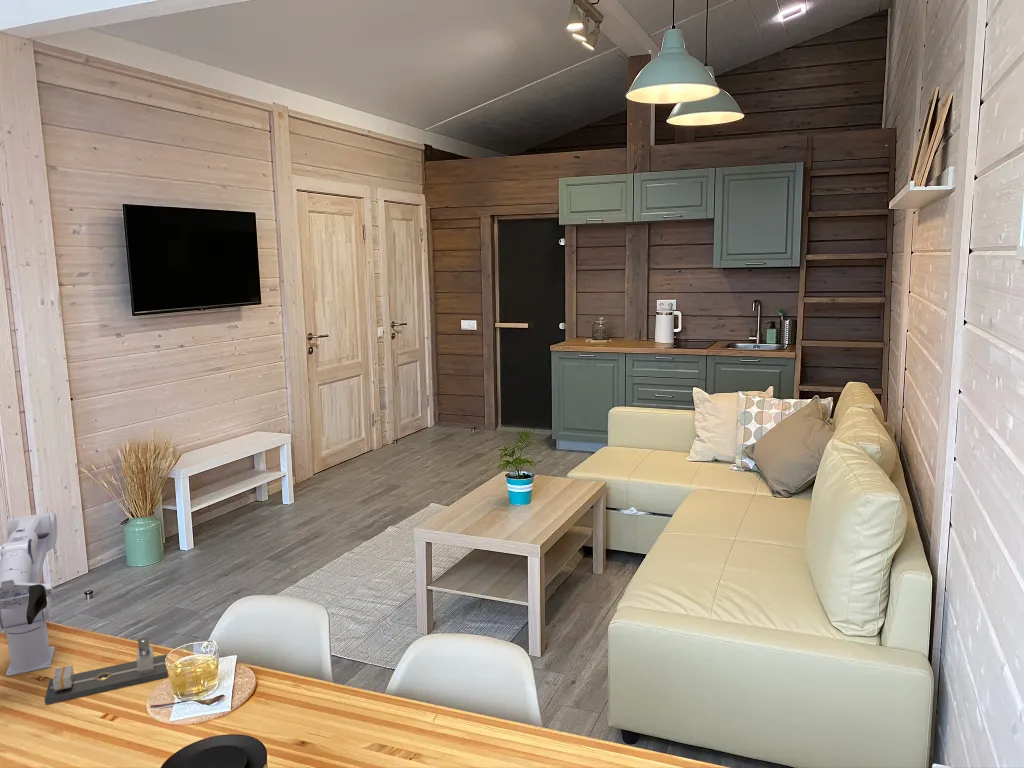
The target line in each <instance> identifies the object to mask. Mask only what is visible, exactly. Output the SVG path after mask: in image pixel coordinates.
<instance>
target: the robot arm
mask: <svg viewBox="0 0 1024 768" xmlns="http://www.w3.org/2000/svg"><path fill="white" fill-rule="evenodd" d="M6 531H7V538H8V539H7V541H6V542H4V543H2V545H0V630H1V631H2V630H3V634H5V635H6V640H7V647H8V648H7V649H8V655H9V662H10V663H9V665H8V668H7V671H6V673H5V675H6V677H10V676H15V675H20V674H24V673H29V672H34V671H40V670H43V669H49V668H50V667H51V665H52V661H53V657H54V653H55V649H56V647H55V646H50V641H49V633H48V626H47V623H46V622H47V621H48V622H49V620H50V619H51V618H52V615H53V614H52V613H53V611H52V607H53V606H52V597H54V587H53V582H50V583H41V580H42V575H43V569H44V563H45V559H46V557H47V553H48V552H49V551H50V550H52V549H54V548H55V545H56V544H57V539H58V520H57V514H56V513H55V512H54V511H50V512H43V513H39V514H38V513H37V514H32V515H31V514H30V515H25V516H24V515H23V516H18V517H17V516H16V517H13V516H11V517H9V519H8V520H7V527H6Z"/></svg>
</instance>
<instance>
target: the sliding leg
mask: <svg viewBox="0 0 1024 768" xmlns="http://www.w3.org/2000/svg"><path fill="white" fill-rule="evenodd" d="M53 674H54V675H53V678H52V679H53V686H54V691H56V690H61V689H62V690H63V689H66V688H70V687H72V682H73V677H74V674H75V672H74V665H73V664H72V665H69V666H68V665H67V666H62V667H57V668H55V670H54V673H53Z"/></svg>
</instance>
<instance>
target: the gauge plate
mask: <svg viewBox="0 0 1024 768" xmlns="http://www.w3.org/2000/svg"><path fill="white" fill-rule="evenodd" d="M149 640H150V639H149V637H142V638H140V639H138V640H137V644H138V648H137V649H136V660H133V661H130V662H125V663H120V664H119V663H118V664H114V665H111V666H105V667H100V668H96V669H93V670H87V671H82V672H78V673H74V677H73V682H72V687H70V688H66V689H63V690H62V689H61V690H56V691H54V686H53V678H50V679H49V681H48V685H47V688H46V689H47V690H46V693H45V697H44V703H45V705H46V706H47V705H51V704H53V703H54V704H55V703H59V702H63V701H68V700H72V699H77V698H82V697H85V696H90V695H94V694H99V693H103V692H104V693H105V692H107V691H112V690H116V689H121V688H126V687H129V686H135V685H139V684H144V683H149V682H152V681H157V680H160V679H166V678H168V677H169V676H167V669H166V665H165V658H166V656H167V657H168V655H167V653H165V654H162V655H158V656H154V646H152V645H151V646H150V641H149Z"/></svg>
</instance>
